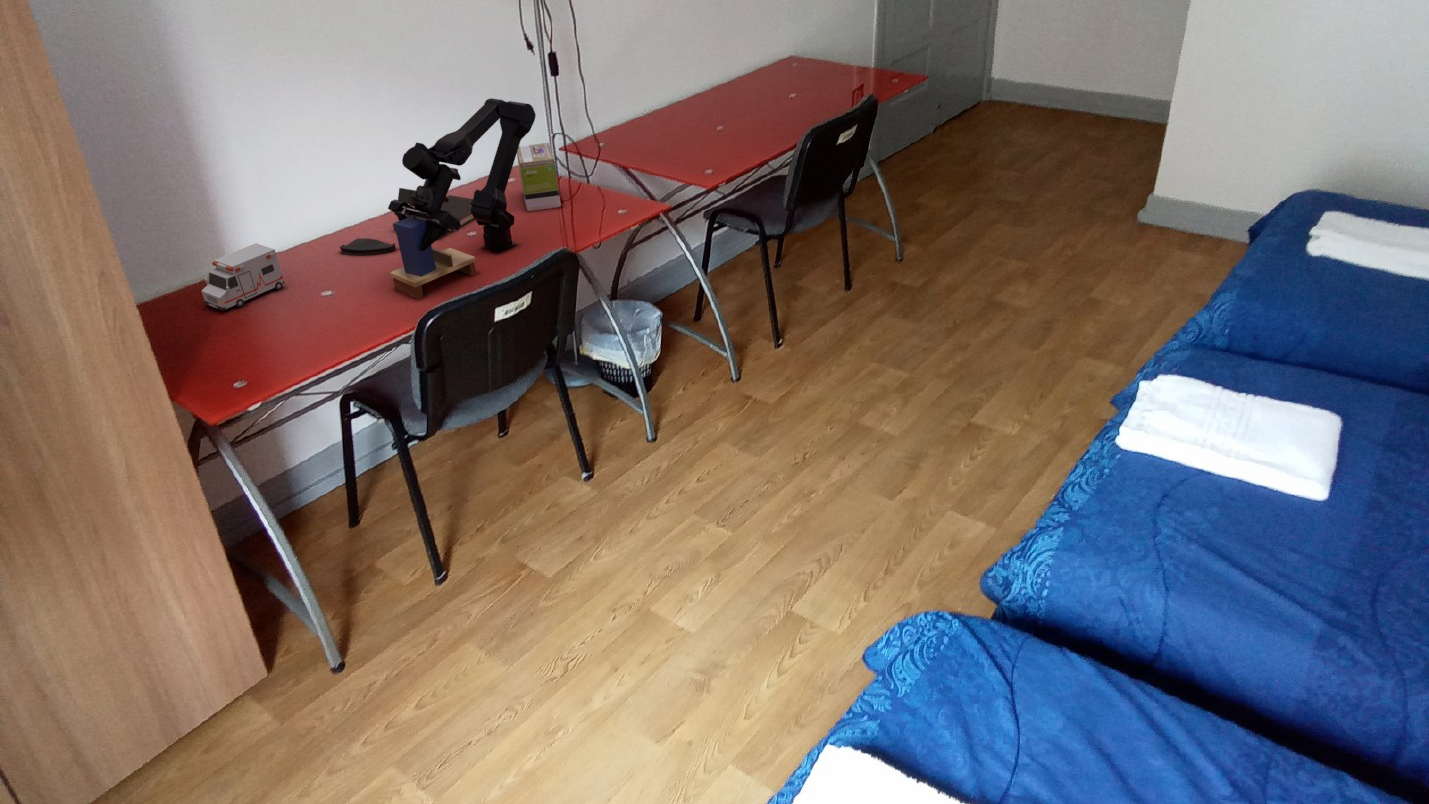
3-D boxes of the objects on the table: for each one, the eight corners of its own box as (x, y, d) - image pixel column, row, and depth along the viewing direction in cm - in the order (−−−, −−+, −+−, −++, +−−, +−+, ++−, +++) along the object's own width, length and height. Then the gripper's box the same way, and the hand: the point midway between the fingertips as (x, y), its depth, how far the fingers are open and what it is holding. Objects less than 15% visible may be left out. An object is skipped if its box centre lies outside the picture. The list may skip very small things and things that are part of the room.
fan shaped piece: (382, 258, 257) (381, 253, 256) (339, 253, 261) (338, 247, 260) (401, 246, 264) (400, 240, 263) (358, 240, 268) (357, 235, 267)
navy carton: (420, 264, 242) (409, 216, 235) (436, 269, 240) (426, 220, 233) (405, 272, 238) (394, 223, 232) (421, 277, 236) (410, 228, 229)
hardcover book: (491, 209, 283) (490, 202, 282) (438, 239, 266) (437, 231, 265) (448, 202, 290) (447, 194, 289) (393, 230, 273) (391, 222, 272)
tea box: (522, 194, 293) (515, 145, 285) (556, 190, 295) (549, 141, 287) (526, 212, 281) (519, 161, 273) (561, 207, 283) (555, 157, 275)
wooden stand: (453, 263, 253) (448, 236, 249) (478, 273, 247) (473, 245, 243) (393, 289, 241) (387, 260, 237) (418, 300, 236) (412, 271, 232)
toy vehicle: (203, 306, 237) (189, 267, 232) (265, 278, 249) (254, 242, 244) (226, 315, 233) (213, 276, 227) (289, 287, 244) (278, 249, 239)
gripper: (385, 166, 234) (359, 226, 232) (442, 178, 225) (416, 241, 223) (416, 188, 243) (392, 245, 241) (472, 200, 235) (447, 260, 233)
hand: (410, 247), depth 234 cm, fingers open, 7 cm apart
